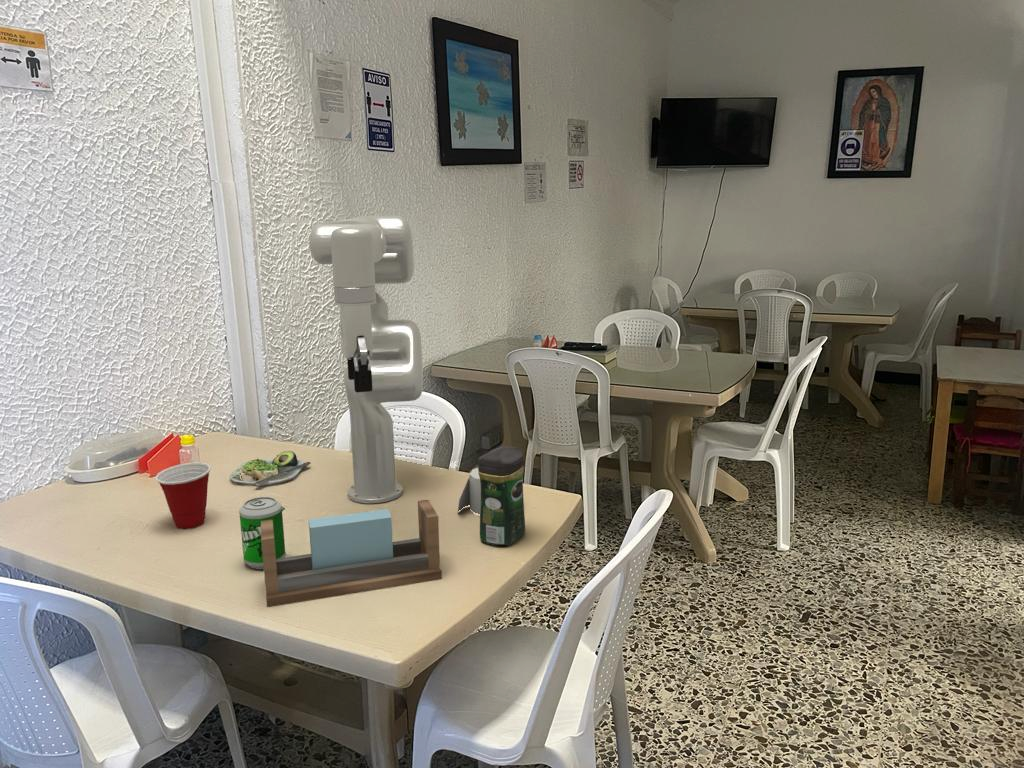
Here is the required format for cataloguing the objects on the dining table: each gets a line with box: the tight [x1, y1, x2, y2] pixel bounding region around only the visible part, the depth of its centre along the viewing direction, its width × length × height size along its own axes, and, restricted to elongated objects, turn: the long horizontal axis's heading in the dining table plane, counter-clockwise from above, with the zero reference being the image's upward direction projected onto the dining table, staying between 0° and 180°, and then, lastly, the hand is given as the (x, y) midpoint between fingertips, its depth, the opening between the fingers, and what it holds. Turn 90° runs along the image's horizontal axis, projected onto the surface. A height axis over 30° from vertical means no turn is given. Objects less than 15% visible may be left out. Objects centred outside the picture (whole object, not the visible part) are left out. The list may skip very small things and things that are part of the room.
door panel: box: [308, 508, 394, 570], centre depth 136 cm, size 4×14×10 cm, turn 108°
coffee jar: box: [477, 445, 526, 546], centre depth 151 cm, size 10×8×19 cm
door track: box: [261, 499, 443, 608], centre depth 136 cm, size 11×30×12 cm, turn 109°
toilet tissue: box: [457, 467, 481, 514], centre depth 165 cm, size 9×13×9 cm
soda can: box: [238, 496, 286, 570], centre depth 142 cm, size 8×8×12 cm
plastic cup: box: [154, 461, 212, 530], centre depth 160 cm, size 11×11×12 cm
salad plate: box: [229, 450, 311, 487], centre depth 189 cm, size 19×18×5 cm
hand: (360, 385), depth 145 cm, fingers open, 9 cm apart
